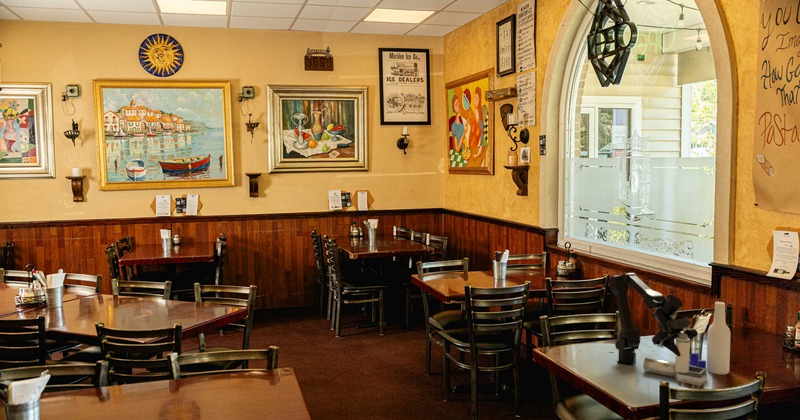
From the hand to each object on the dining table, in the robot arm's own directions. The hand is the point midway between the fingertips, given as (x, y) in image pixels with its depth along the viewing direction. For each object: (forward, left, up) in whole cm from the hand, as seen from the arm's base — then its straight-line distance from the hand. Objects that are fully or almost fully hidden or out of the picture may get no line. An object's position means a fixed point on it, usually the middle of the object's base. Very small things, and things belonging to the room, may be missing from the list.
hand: (685, 355), depth 262 cm
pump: (-1, +1, -7) cm, 7 cm away
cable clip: (-3, +27, -14) cm, 31 cm away
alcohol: (+5, +31, -14) cm, 34 cm away
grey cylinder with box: (-8, +12, -13) cm, 20 cm away
